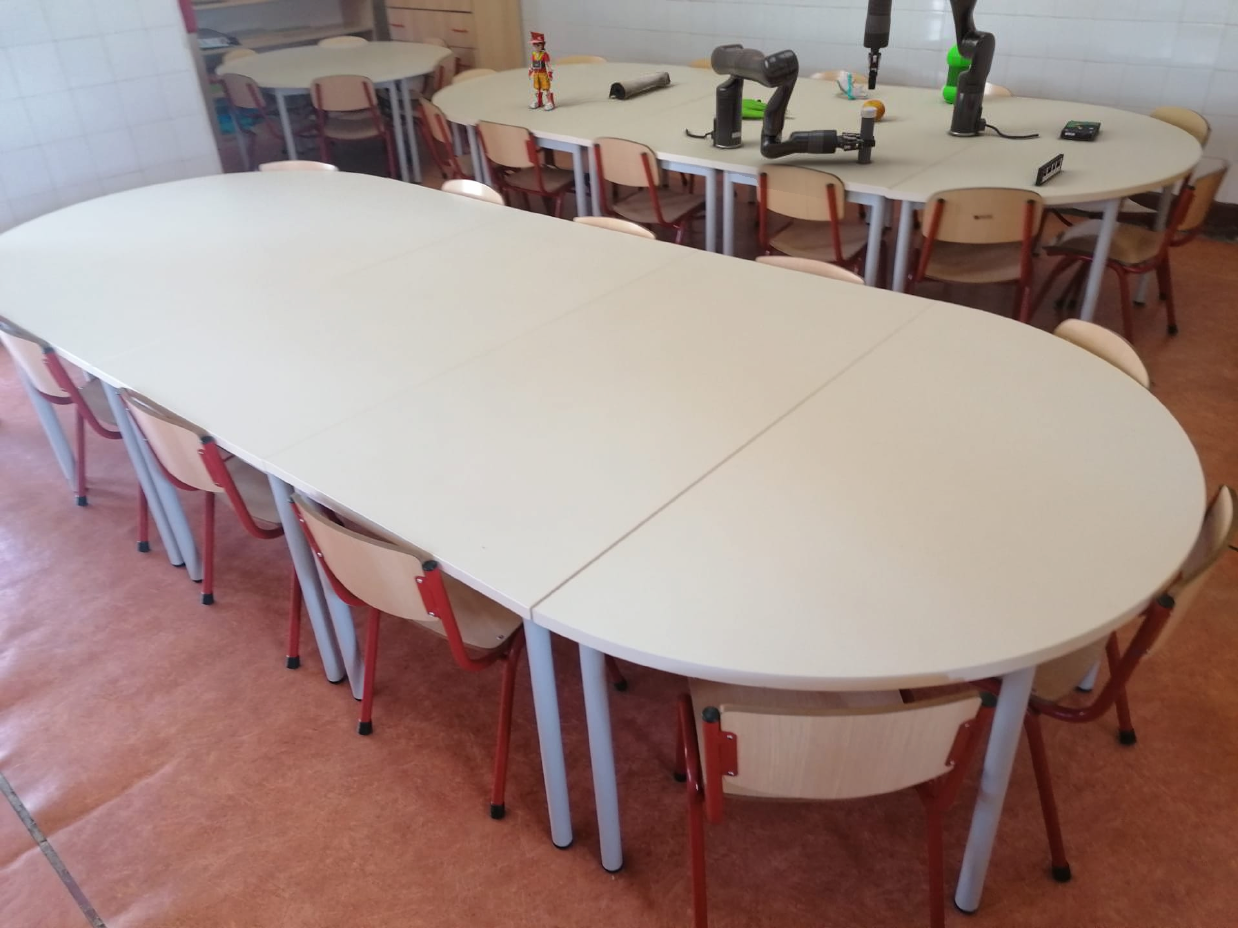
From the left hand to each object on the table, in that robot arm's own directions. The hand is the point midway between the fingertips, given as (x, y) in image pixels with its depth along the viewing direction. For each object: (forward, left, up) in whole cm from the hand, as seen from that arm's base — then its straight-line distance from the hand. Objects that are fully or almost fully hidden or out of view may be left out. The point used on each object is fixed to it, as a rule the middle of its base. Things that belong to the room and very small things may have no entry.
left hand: (874, 141), depth 294 cm
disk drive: (+53, +56, -7) cm, 78 cm away
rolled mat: (-127, +58, -7) cm, 140 cm away
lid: (-2, -1, +10) cm, 10 cm away
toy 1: (-153, +19, -7) cm, 154 cm away
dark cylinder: (-2, -1, -7) cm, 7 cm away
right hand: (-2, -1, +17) cm, 17 cm away
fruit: (-18, +49, -7) cm, 53 cm away
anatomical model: (-40, +83, -7) cm, 92 cm away
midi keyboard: (+54, +5, -7) cm, 55 cm away
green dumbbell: (+1, +87, -7) cm, 87 cm away
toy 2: (-62, +40, -7) cm, 74 cm away
